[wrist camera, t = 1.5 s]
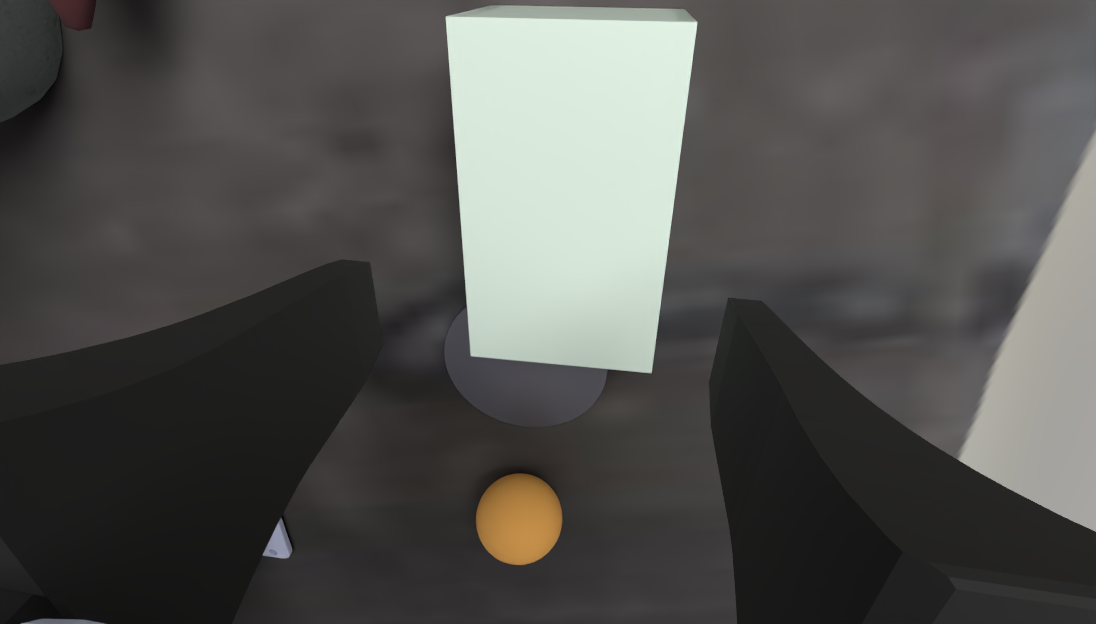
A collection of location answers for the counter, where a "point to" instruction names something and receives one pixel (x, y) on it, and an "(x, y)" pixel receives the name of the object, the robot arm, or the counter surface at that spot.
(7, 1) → the bottle
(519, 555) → the ball
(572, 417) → the spot
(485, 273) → the pale green block
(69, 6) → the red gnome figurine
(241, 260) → the counter surface
